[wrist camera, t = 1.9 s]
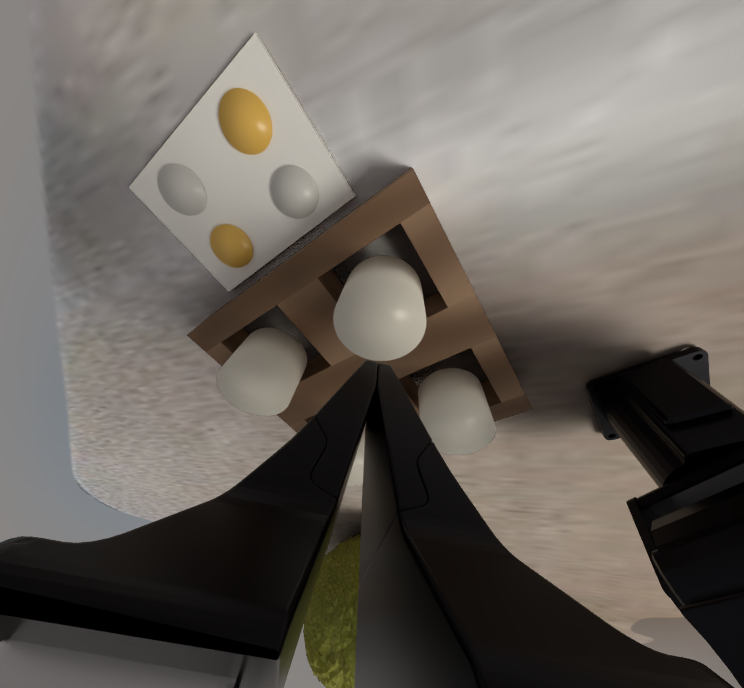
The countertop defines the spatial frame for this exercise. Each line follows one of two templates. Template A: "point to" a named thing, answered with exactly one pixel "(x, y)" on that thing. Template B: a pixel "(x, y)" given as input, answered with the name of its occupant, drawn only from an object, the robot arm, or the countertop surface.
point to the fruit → (334, 617)
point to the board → (323, 288)
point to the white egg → (381, 309)
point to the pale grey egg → (455, 411)
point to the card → (243, 171)
